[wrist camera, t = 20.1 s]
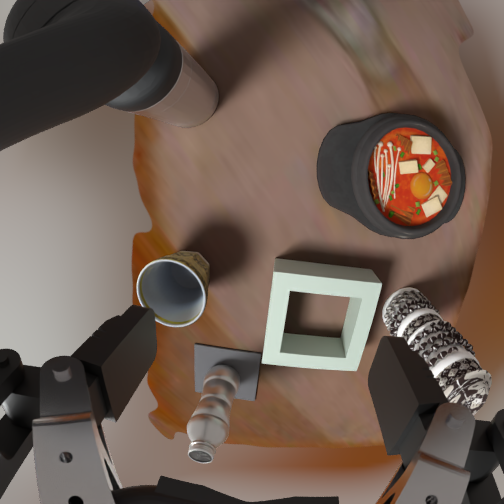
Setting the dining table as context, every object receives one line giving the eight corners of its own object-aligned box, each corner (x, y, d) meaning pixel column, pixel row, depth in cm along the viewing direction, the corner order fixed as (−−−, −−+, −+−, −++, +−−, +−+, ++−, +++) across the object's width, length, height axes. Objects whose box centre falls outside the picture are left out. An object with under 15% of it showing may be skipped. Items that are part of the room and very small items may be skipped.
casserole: (309, 225, 45) (314, 239, 37) (319, 102, 40) (327, 88, 32) (450, 242, 43) (476, 257, 35) (463, 133, 38) (491, 130, 30)
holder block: (264, 342, 51) (261, 363, 46) (275, 258, 47) (273, 271, 41) (350, 350, 50) (356, 370, 45) (371, 269, 46) (382, 283, 40)
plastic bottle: (249, 376, 53) (233, 461, 34) (223, 391, 55) (202, 472, 36) (224, 354, 52) (198, 438, 33) (200, 370, 54) (168, 450, 35)
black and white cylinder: (374, 332, 49) (421, 440, 25) (385, 284, 46) (453, 380, 22) (419, 332, 48) (479, 427, 24) (431, 285, 45) (511, 369, 22)
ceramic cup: (190, 227, 47) (168, 243, 37) (233, 274, 48) (221, 301, 39) (140, 275, 50) (112, 299, 41) (179, 317, 52) (159, 348, 42)
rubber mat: (195, 390, 56) (195, 391, 56) (195, 343, 53) (194, 344, 52) (254, 399, 56) (254, 400, 55) (261, 352, 52) (261, 354, 52)
